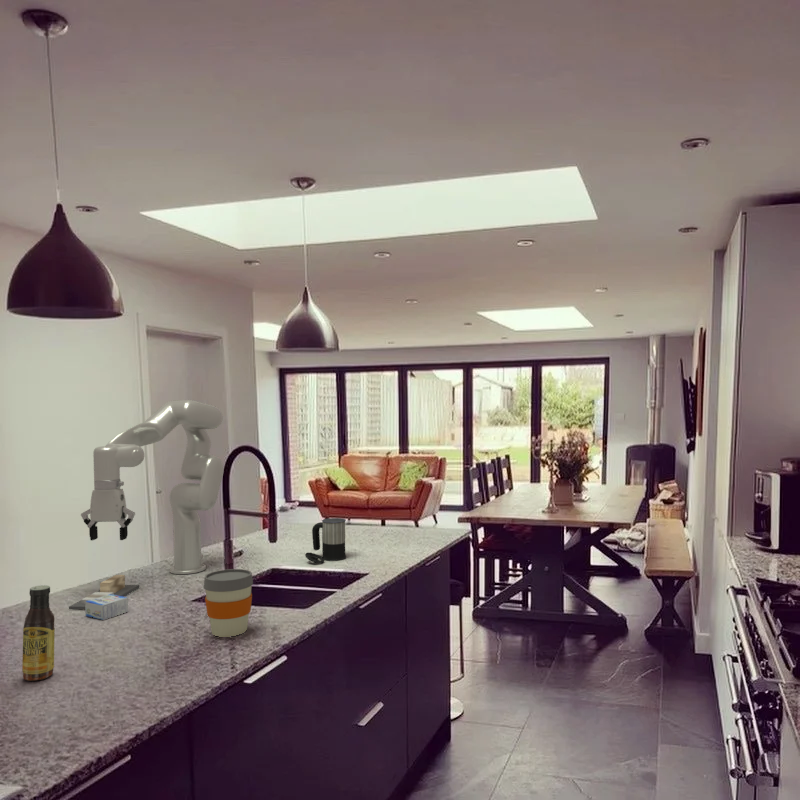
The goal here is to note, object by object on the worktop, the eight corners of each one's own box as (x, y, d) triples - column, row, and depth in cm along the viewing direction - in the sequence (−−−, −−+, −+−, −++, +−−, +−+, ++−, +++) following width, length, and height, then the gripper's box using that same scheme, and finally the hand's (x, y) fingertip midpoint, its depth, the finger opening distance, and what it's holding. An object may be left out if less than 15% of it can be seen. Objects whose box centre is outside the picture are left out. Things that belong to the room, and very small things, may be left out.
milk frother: (348, 555, 263) (348, 517, 263) (340, 565, 247) (339, 525, 247) (313, 555, 265) (312, 517, 265) (302, 565, 249) (301, 525, 249)
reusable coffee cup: (212, 624, 183) (210, 569, 183) (258, 623, 183) (257, 568, 183) (198, 640, 171) (197, 581, 171) (248, 639, 171) (247, 580, 171)
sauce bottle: (16, 683, 146) (15, 591, 147) (31, 671, 153) (29, 584, 153) (47, 681, 147) (45, 590, 147) (60, 670, 153) (58, 583, 153)
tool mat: (110, 587, 223) (110, 584, 223) (139, 587, 223) (139, 584, 223) (68, 610, 199) (68, 606, 199) (101, 610, 199) (101, 606, 199)
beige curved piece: (111, 587, 220) (111, 574, 220) (129, 587, 220) (129, 574, 220) (81, 603, 202) (81, 590, 202) (100, 603, 202) (100, 590, 202)
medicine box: (128, 596, 196) (102, 604, 189) (128, 612, 196) (102, 620, 189) (111, 593, 200) (84, 601, 193) (111, 608, 200) (84, 616, 193)
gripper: (139, 483, 216) (140, 536, 216) (87, 484, 218) (89, 537, 218) (127, 486, 209) (129, 541, 209) (74, 487, 210) (75, 542, 210)
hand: (108, 539), depth 213 cm, fingers open, 9 cm apart
